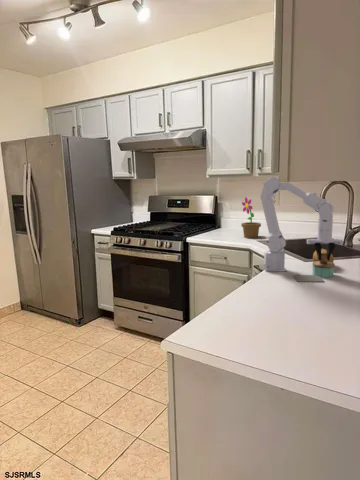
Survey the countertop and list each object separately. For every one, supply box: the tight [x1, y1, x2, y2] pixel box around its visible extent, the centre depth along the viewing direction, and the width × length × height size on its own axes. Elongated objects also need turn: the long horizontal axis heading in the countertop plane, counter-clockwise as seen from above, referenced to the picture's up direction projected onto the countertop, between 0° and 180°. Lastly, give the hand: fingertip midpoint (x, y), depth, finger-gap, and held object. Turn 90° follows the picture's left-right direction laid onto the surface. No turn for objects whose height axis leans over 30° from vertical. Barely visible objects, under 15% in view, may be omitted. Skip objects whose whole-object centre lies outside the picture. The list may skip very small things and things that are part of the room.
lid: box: [312, 253, 336, 268], centre depth 144 cm, size 9×9×6 cm
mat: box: [292, 274, 325, 283], centre depth 140 cm, size 11×9×1 cm
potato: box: [312, 248, 335, 263], centre depth 158 cm, size 10×14×8 cm
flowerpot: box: [241, 196, 262, 239], centre depth 241 cm, size 14×14×30 cm
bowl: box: [312, 265, 335, 278], centre depth 146 cm, size 8×8×4 cm
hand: (323, 259), depth 145 cm, fingers closed on lid, 3 cm apart
